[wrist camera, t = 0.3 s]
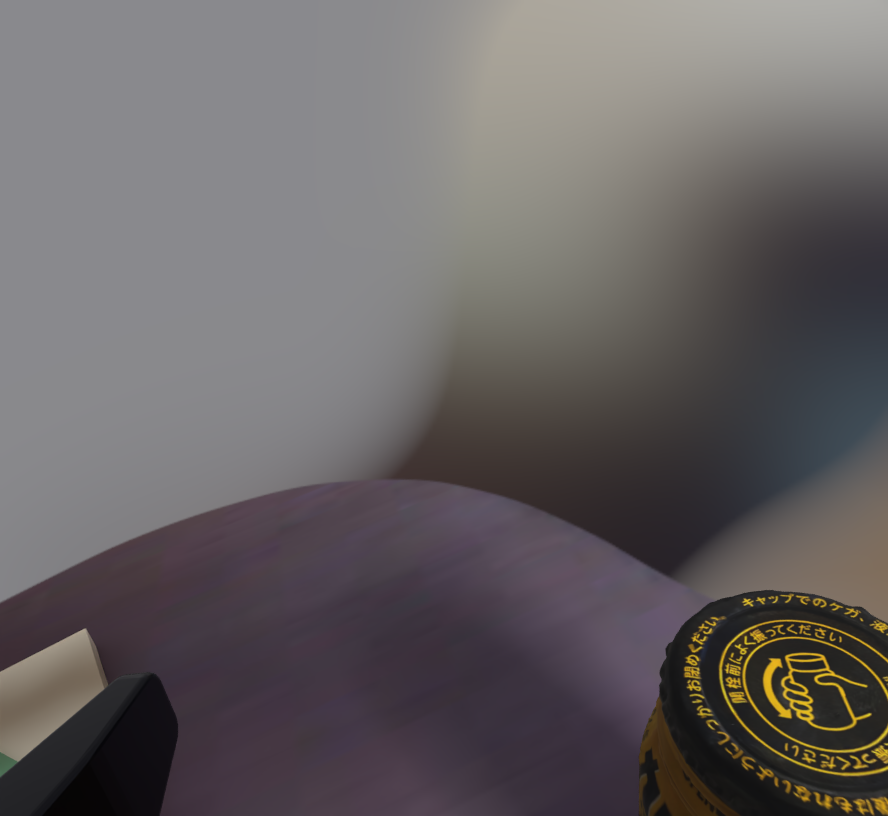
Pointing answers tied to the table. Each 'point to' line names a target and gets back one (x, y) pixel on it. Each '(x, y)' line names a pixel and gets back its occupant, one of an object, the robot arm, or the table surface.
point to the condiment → (770, 712)
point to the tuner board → (46, 694)
